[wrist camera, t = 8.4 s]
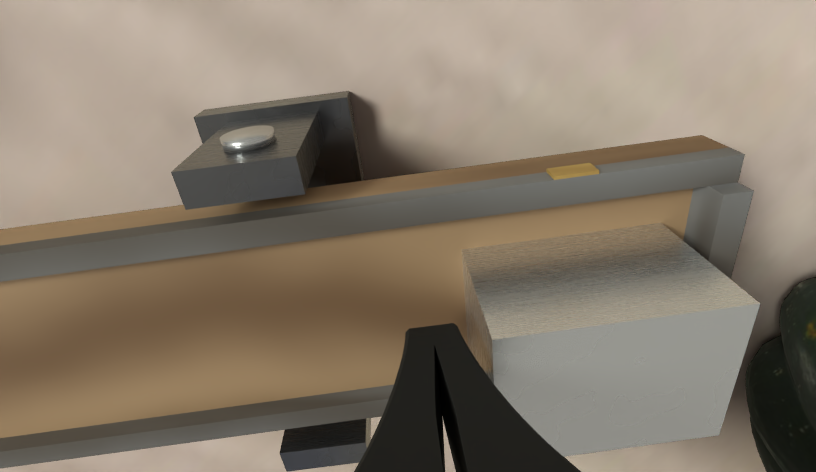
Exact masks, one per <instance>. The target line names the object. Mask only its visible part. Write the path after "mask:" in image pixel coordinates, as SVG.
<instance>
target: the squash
mask: <svg viewBox="0 0 816 472" xmlns="http://www.w3.org/2000/svg"><path fill="white" fill-rule="evenodd" d="M779 323H780V330H781V336H779V337H777V338H775V339H773V340H771V341H769V342H767V343H765V344H764V345H763V346H762V347H761V349H760V350H759V351H758V353H757V354H756V356H755V357H754V359H753V360H752V362H751V363H750V364H749V366H748V369H747V372H746V394H747V402H748V407H749V412H750V421H751V427H752V433H753V436H754V439H755V442H756V446H757V450H758V452H759V455H760V457H761V460H762V462H763V464H764V467H765V469H766V471H767V472H816V278H812V279H808V280H805V281H803V282H801V283H799V284H798V285H797V286H795V287H794V288H793V290H792V292H791V293H790V294H789V296H788V297H787V298H786V299H785V300H784V301H783V304H782V307H781V312H780V321H779Z"/></svg>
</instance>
